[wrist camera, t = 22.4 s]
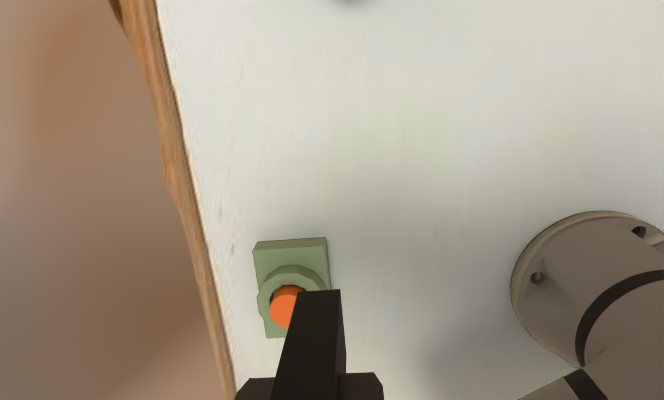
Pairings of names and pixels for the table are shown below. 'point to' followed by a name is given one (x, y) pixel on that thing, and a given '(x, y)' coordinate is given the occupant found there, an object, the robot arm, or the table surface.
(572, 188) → the table surface
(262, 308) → the control block
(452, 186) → the table surface
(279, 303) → the button
